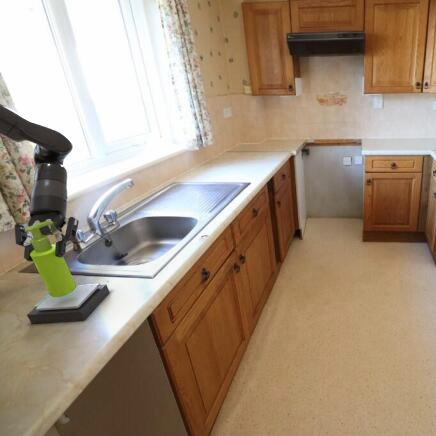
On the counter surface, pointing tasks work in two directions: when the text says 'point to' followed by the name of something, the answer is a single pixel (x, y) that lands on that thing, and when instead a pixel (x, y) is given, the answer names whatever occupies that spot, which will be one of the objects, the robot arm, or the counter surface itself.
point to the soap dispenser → (50, 263)
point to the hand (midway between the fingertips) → (44, 258)
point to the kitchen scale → (69, 305)
